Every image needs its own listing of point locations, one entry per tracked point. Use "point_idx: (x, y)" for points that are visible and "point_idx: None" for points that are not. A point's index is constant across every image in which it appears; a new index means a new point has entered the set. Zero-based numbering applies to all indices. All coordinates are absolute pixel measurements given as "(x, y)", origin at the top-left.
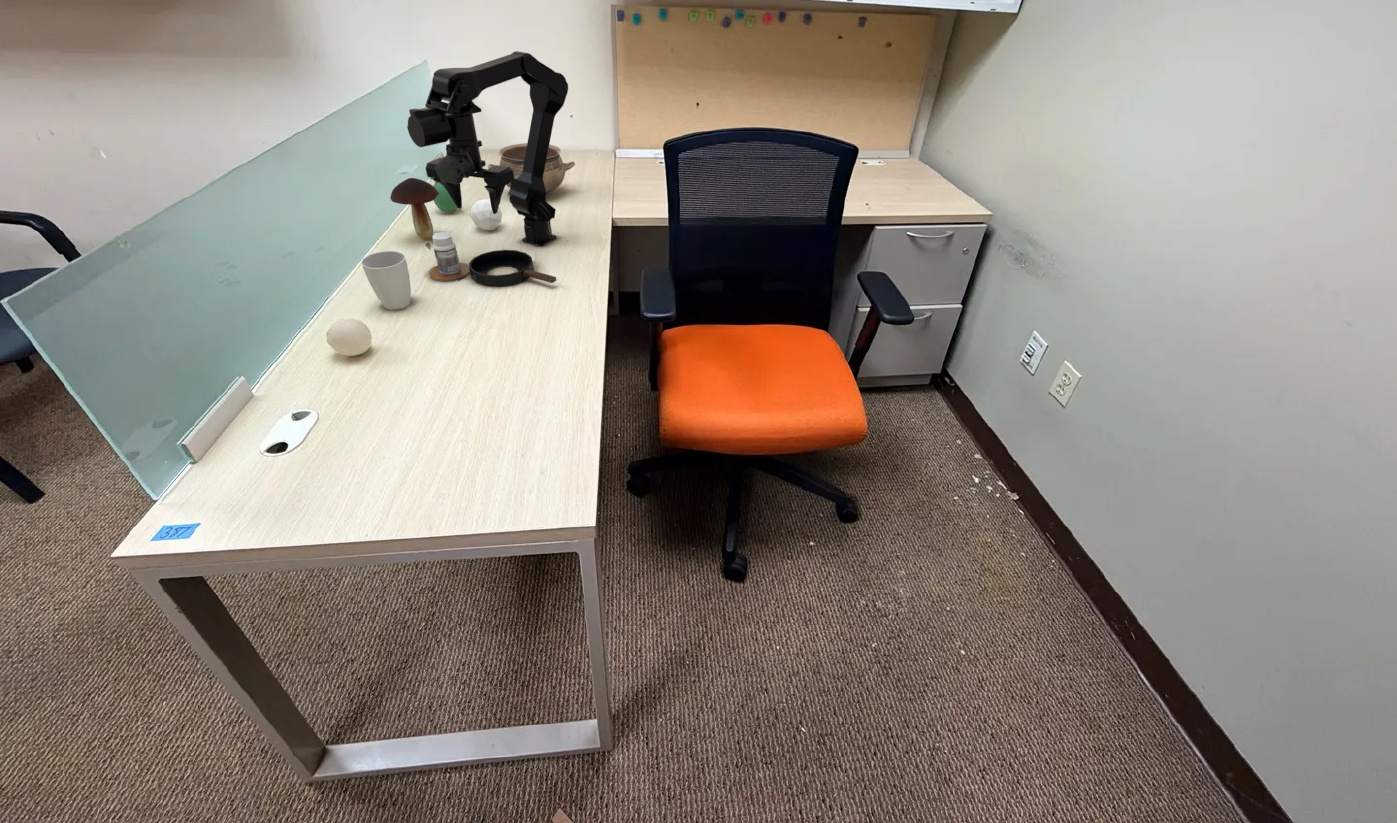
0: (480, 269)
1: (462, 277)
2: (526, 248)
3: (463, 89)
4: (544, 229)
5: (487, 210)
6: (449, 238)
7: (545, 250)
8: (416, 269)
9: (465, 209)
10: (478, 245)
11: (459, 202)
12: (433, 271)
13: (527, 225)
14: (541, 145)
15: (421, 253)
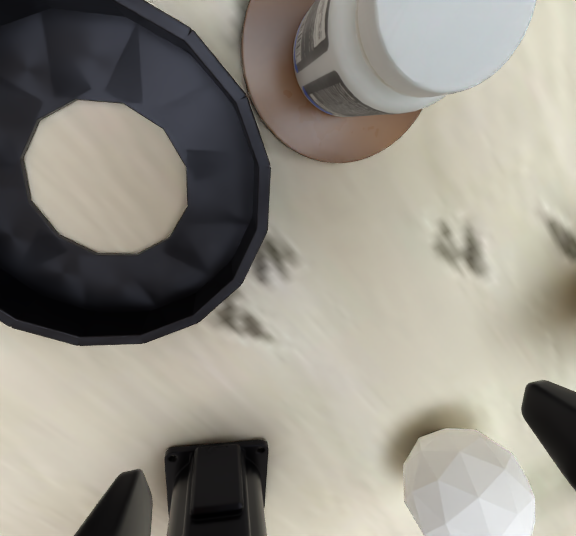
0: (224, 151)
1: (243, 26)
2: (209, 408)
3: None
4: (168, 528)
5: (457, 510)
6: (371, 2)
7: (129, 433)
8: None
9: (568, 489)
10: (392, 337)
11: (569, 441)
12: None
13: (225, 513)
14: None
15: (562, 172)
